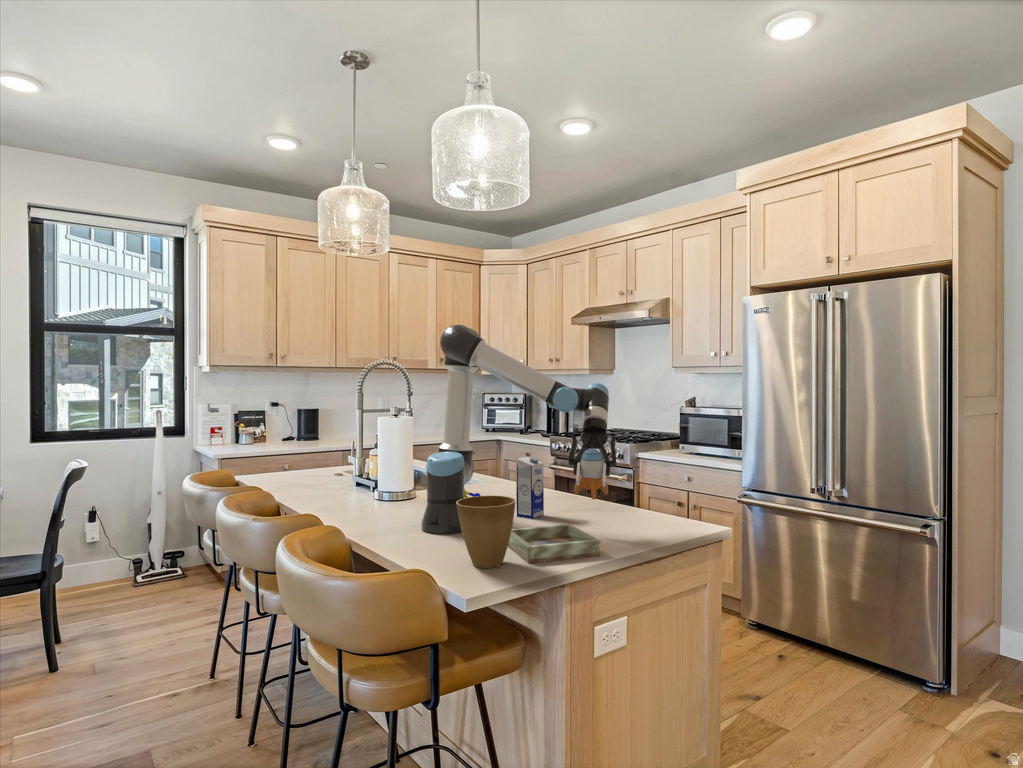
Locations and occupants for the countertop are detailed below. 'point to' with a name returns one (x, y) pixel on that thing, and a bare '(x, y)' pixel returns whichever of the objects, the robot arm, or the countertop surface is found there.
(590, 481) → the toy rocket
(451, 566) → the countertop surface
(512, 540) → the cradle
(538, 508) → the milk carton
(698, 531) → the countertop surface
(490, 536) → the plant pot
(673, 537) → the countertop surface
